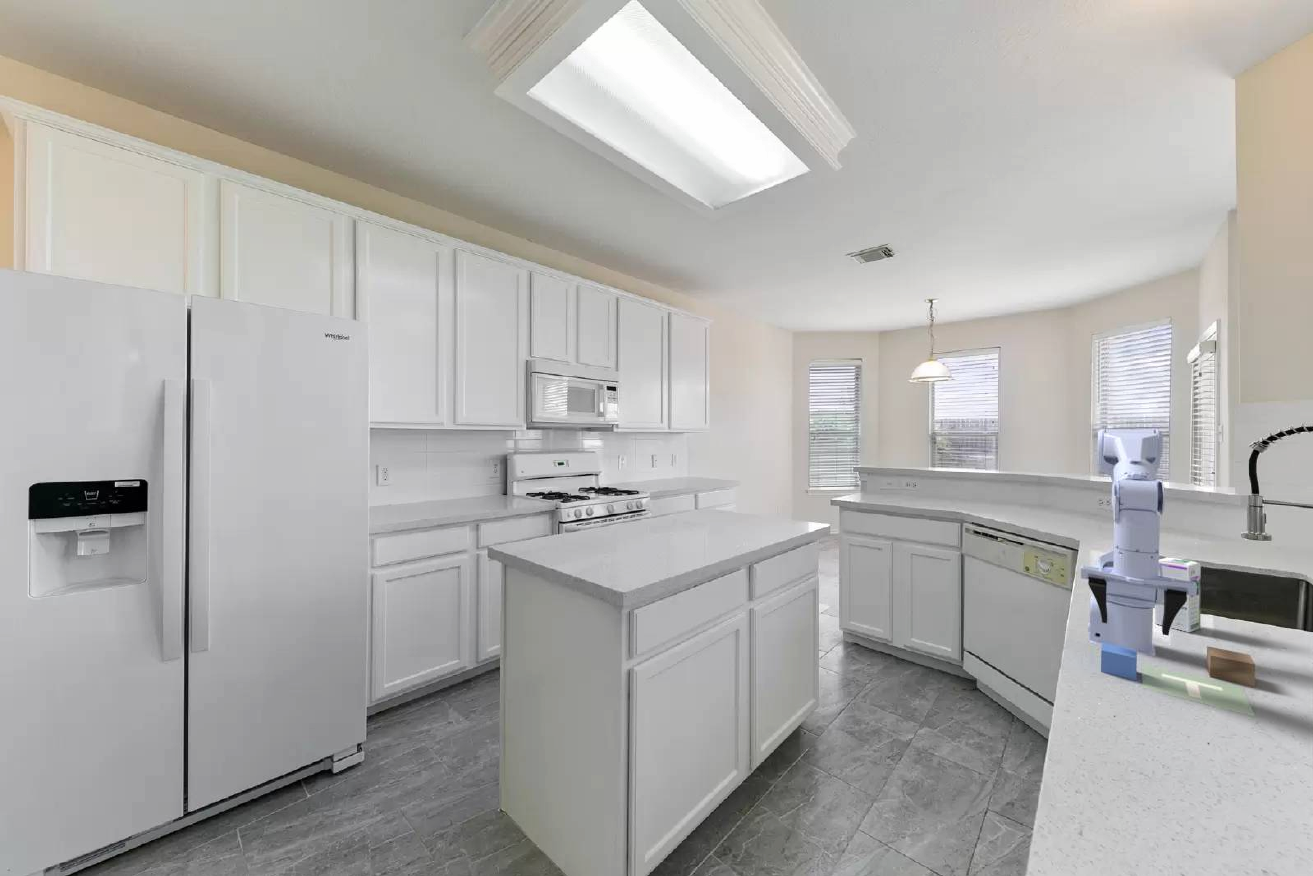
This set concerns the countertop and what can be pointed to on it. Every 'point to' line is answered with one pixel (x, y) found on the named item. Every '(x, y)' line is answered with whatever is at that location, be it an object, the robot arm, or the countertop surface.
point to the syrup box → (1190, 610)
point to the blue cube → (1119, 661)
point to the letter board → (1196, 689)
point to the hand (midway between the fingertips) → (1134, 627)
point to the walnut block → (1231, 666)
